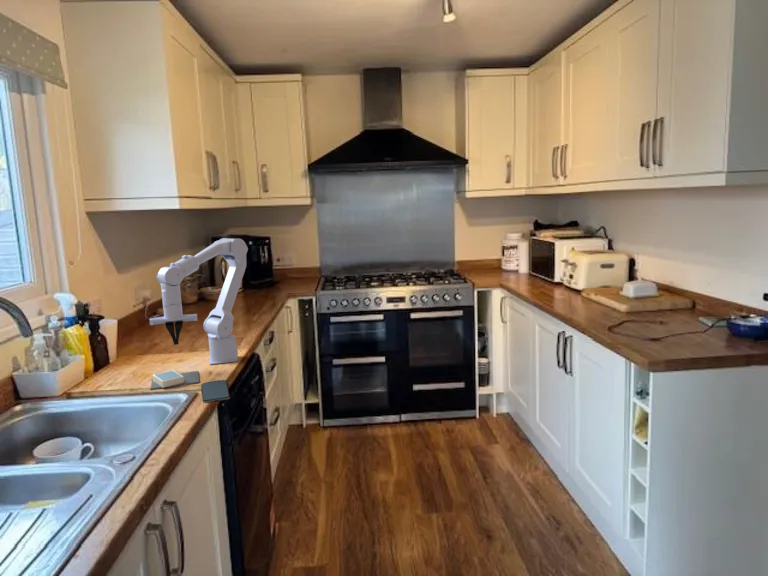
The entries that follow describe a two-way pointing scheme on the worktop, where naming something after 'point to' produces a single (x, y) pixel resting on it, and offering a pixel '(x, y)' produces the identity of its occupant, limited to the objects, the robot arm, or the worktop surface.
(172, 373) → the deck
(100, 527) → the worktop surface
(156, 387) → the mat
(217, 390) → the smartphone
